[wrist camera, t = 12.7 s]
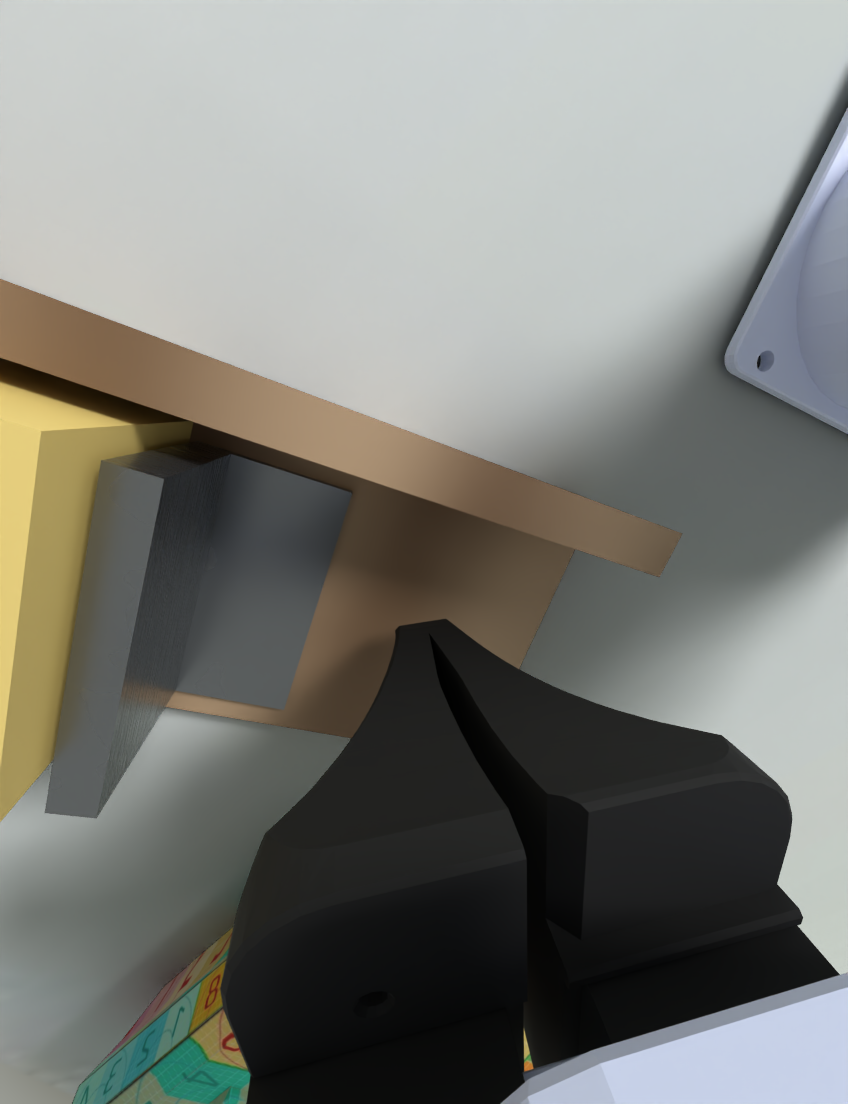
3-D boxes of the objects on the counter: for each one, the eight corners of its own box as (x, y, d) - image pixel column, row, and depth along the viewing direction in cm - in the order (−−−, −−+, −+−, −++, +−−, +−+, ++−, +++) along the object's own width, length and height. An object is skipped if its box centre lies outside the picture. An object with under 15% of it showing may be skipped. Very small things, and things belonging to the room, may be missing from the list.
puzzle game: (333, 954, 10) (697, 1122, 17) (338, 792, 15) (626, 977, 22) (31, 1203, 12) (483, 1268, 18) (119, 985, 16) (457, 1103, 23)
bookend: (352, 490, 10) (353, 535, 7) (285, 702, 12) (256, 834, 8) (197, 440, 10) (101, 460, 6) (147, 677, 11) (44, 812, 7)
